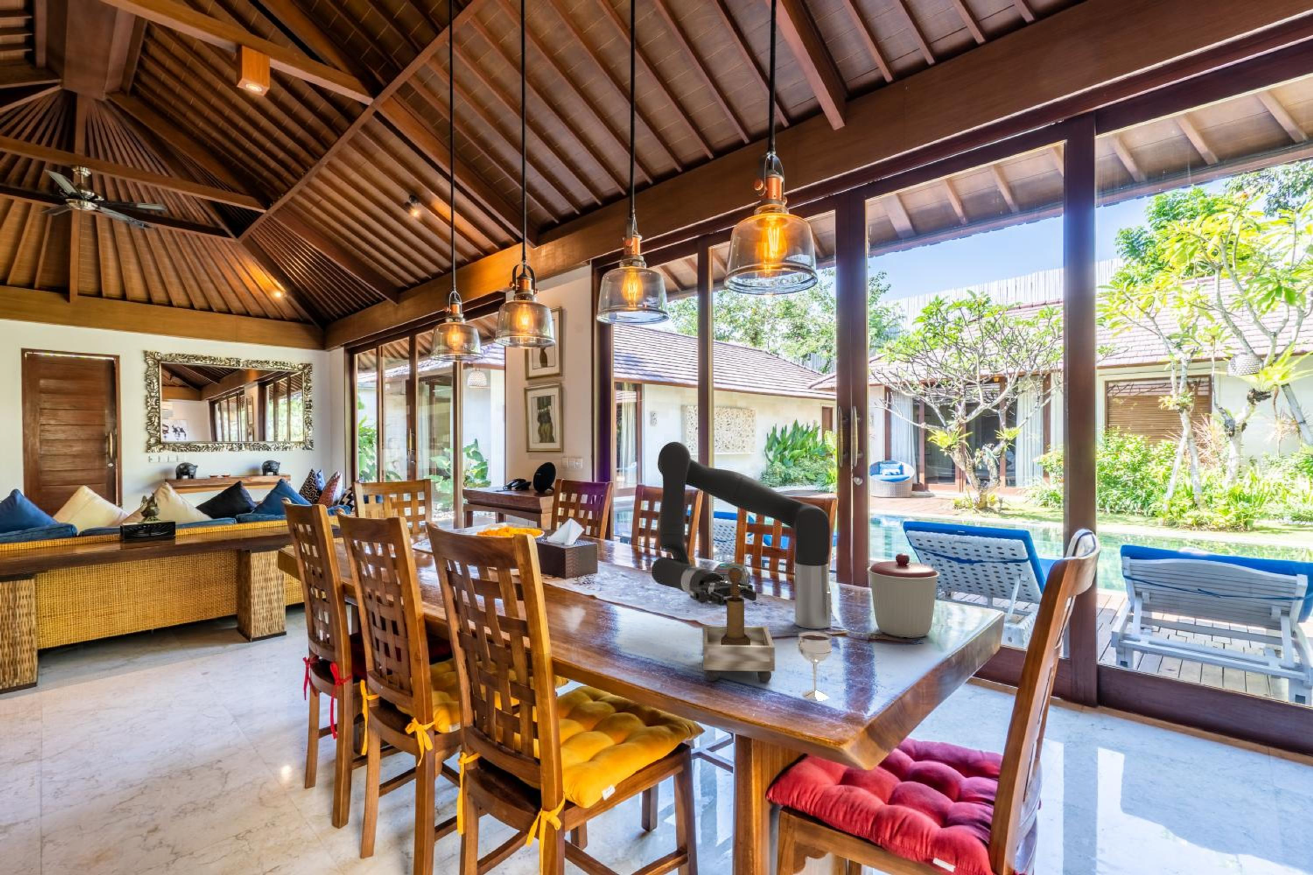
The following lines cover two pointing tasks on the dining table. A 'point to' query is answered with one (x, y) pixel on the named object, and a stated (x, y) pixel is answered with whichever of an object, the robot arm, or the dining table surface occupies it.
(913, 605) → the canister
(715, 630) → the cart
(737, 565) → the toy van
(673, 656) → the dining table surface
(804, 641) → the wineglass
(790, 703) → the dining table surface
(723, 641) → the mortar and pestle
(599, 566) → the dining table surface
